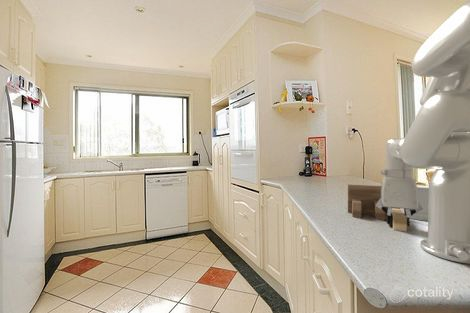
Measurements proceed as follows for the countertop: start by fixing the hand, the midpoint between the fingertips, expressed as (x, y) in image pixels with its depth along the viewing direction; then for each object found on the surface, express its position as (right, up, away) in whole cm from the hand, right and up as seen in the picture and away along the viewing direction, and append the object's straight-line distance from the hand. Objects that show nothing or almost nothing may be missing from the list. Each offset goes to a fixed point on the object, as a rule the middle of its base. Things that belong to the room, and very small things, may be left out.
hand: (397, 226), depth 78 cm
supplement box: (+16, 0, +11) cm, 19 cm away
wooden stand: (-3, 0, +13) cm, 13 cm away
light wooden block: (+1, 0, +2) cm, 2 cm away
